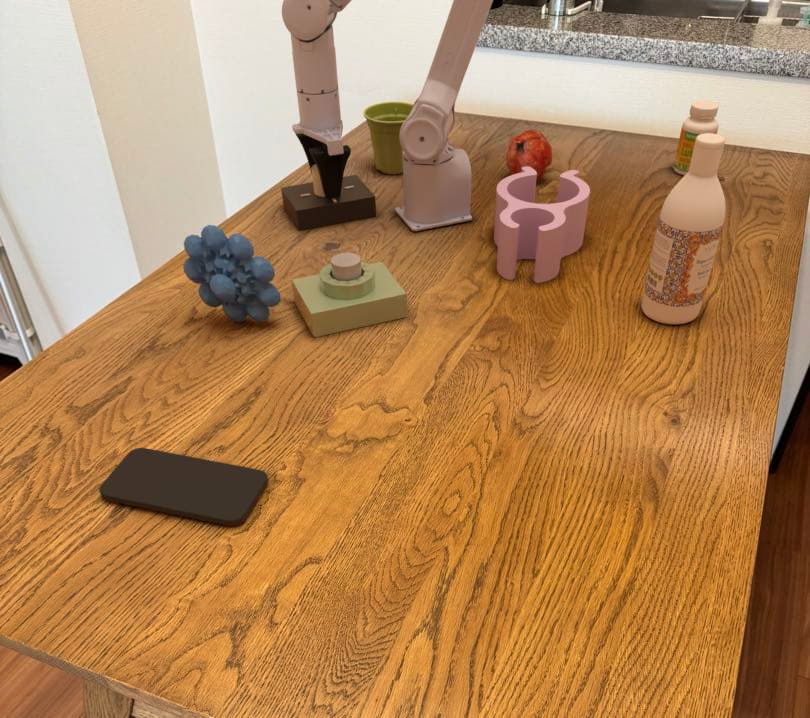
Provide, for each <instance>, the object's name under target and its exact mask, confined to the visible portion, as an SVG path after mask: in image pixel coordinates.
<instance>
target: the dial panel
mask: <svg viewBox="0 0 810 718" xmlns="http://www.w3.org/2000/svg"><path fill="white" fill-rule="evenodd" d="M280 190H281V197H282V205H283V209H284V210H285V212H286V213H287V214H288V217H290V219H291V221H292V222H293V224H294V225H295V227H296V229H297V230H298V231H299V232H301V231H307V230H311V229H317V228H322V227H327V226H332V225H338V224H343V223H349V222H354V221H360V220H364V219H371V218H375V217H377V203H376V195H374V193H373V192H372V191H371V190H370V189H369V187H368V186H367V185H366V184H365V183H364V181H363V180H362V179H361V178H360V177H359V176H358V175H357V174H351V175H346V176H343V181H342V189H341V195H340V197H338V198H332V199H327V198H326V197H321V196H317V195H316V194H315V193H314V187H313V181H311V182H305V183H301V184H300V183H299V184H293V185H288V186H284V187H282V186H281V187H280Z"/></svg>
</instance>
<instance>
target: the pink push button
mask: <svg viewBox="0 0 810 718" xmlns="http://www.w3.org/2000/svg"><path fill="white" fill-rule="evenodd" d="M361 261H362V257H361V256H360V255H359V254H357V253H355V252H341V253H338V254H335V255H332V257H331V259H330V263H331V267H332V277H333V279H336V280H338V281H351V280H356V279H358V278H360V277H361V276H362V267H361Z"/></svg>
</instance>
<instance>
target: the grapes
mask: <svg viewBox="0 0 810 718" xmlns="http://www.w3.org/2000/svg"><path fill="white" fill-rule="evenodd" d="M183 248H184V251H185V252H186V254H187V256H188V258H187V259H185V260H184V262H183V265H182V267H183V268H182V269H183V273H184V274H185V276H186V278H187V279H188V280H189V281H191V282H193V283H195V284H197V285H199V287H198V290H197V291H198V295H199V297H200V299H201V300H202V302H203V303H204V304H205V305H207V306H208V307H210V308H218V307H220V306H222V311H223V313H224V315H225V316H226V318H228V319H229V320H230V321H232V322H234V323H242V322H244V321H246V320H247V318H250V319H251V320H252V321H254V322H256V323H264V322H266V321H268V320H269V318H270V316H271V313H270V308H274V307H276V306H278V305H279V304H280V303H281V299H282V298H281V293H280V291H279V289H278V288H277V286H276V285H274V284H273V283H271V282H272V281H273V280H274V278H275V275H276V274H275V268H274V266H273V265H272V263H271V261H270V260H268V259H267V258H265V257H264V256H259V255H255V250H254V246H253V244H252V242H251V240H250V239H249V238H248V237H247V236H244V234H242V233H233V234H231V235H230V236H228V237H227V235H226V233H225V232H224V230H223V229H221V228H219V227H218V226H216V225H213V224H207V225H206V226H204V227H203V228H202V230H201V232H200V235H198V234H190V235H188V236H186V237H185V239H184V241H183ZM254 255H255V256H254Z"/></svg>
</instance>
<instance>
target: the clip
mask: <svg viewBox="0 0 810 718" xmlns="http://www.w3.org/2000/svg"><path fill="white" fill-rule="evenodd" d="M579 174H580V171H579V170H576V169H570V170H567V171H565V172H562V173H561V174H559V179H558V187H557V196H556V197H557V198H556V202H554V203H535V199H536V188H537V181H536V179H537V172H536V171H535V170H534V169H533V168H531V167H529V166H526V167H522V170H521V173H517V174H514V175H512V174H510V175H509V176H506V177H504V178H503V179H501V180H500V181H499V182H498V183H497V185H496V193H495V211H494V226H493V227H494V228H493V241H494V245H496V247H497V257H496V271H497V273H498V275H499V276H500V277H502V278H504V279H506V280H508V281H512V280H515V279H516V275H517V274H516V273H517V262H518V260H535V262H534V272H533V282H534V283H535V284H541V283H545V282H549V281H551V280H553V279H555V278H557V276H558V275H559V273H560V270H561V269H560V268H561V259H562V258H564V257H568V256H570V255H573V254H574V253H576V252H577V251H578V250H579V249H581V247H582V245H583V243H584V237H585V230H586V229H585V228H586V222H587V215H588V209H589V201H590V194H591V188H590V186H589V185H588V183H587V182H586V181H584V180H583V179H582V178H580V177H579V176H580V175H579Z"/></svg>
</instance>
